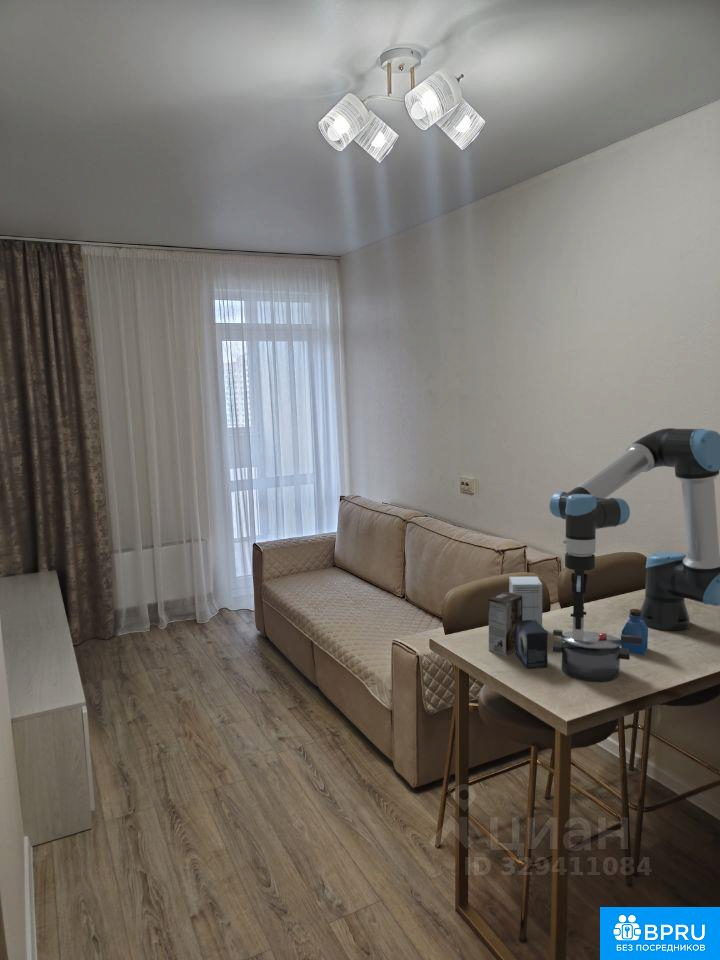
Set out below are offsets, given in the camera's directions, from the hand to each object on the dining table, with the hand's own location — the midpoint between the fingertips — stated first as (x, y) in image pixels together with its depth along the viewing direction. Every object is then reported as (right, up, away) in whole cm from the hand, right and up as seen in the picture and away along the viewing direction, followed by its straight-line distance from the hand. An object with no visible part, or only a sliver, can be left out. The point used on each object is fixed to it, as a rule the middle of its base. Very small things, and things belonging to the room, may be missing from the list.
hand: (577, 639), depth 176 cm
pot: (+4, -9, +4) cm, 11 cm away
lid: (+6, -1, +2) cm, 6 cm away
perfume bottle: (+22, -8, +17) cm, 29 cm away
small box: (-10, -9, +11) cm, 17 cm away
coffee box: (-15, -8, +20) cm, 26 cm away
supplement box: (-5, -6, +35) cm, 36 cm away
